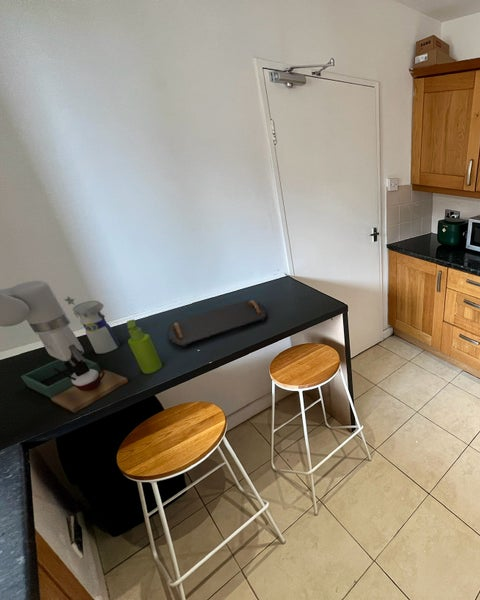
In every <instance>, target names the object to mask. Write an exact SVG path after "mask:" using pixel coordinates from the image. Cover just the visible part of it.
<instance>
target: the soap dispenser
mask: <svg viewBox="0 0 480 600" xmlns="http://www.w3.org/2000/svg"><path fill="white" fill-rule="evenodd" d="M126 325H127V329H128V334H129V337H130V338H129V339H128V340H127V343H128V345H129V347H130V349H131V351H132V353H133V355H134V358H135V360H136V362H137V364H138V365H139V366H138V367H139V368H140V370H141V372H142V373H143V374H145V375H147V374H152V373H156V372H157V371H159V370H160V369H161V368H163V363H162V361H161V359H160V357H159V354H158V352H157V350H156V348H155V346H154V343H153V341H152V339H151V336H150V334H148V333H144V332H143V330H142V328H141V327H140V326H137V325H136V321H135V319H130V320H127V321H126Z"/></svg>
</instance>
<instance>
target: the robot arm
mask: <svg viewBox="0 0 480 600" xmlns="http://www.w3.org/2000/svg"><path fill="white" fill-rule="evenodd" d="M25 321H27V323H28V324H29V326H30V328H31V329H32V332H34V334H36V335H38V338H39V339H40V341H41V343H42V345H43V346H44V349H45V351H46V352H47V353H48V355H50V357H53V358H55V359H56V360H58V359H60V360H62V361H63V362H64V365H65V366H66V368H67V369H66V370H67V371H68V374H73V373H75V374H76V376H78V377H79V376H81V375H83V374H85V373H87V372H89V371H90V370H89V368H88V366H87V364H86V363H85V361H84V358H85V357H84V356H83V354H84V352H85V350H84V348H83V345H82V344H81V343H80V341H79V339H78V337H77V336H76V334H75V333H74V331H73V330H72V329H71V327H70V326H69V325H70V324H71V320H70V319H69V316H68V315H67V314H66V312H65V310H64V308H63V306H62V305H61V303H60V301H59V300H58V298H57V296H56V293H54V290H53V289H52V287H51V286H50V284H49V283H48V282H46V281H43V280H32V281H26V282H22V283H19V284H17V285H14V286H12V287H8V288H2V289H0V327H14V326H17V325H19V324H20V325H21V324H22V323H23V322H25ZM74 358H75V359H74ZM65 362H66V363H65Z"/></svg>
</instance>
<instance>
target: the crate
mask: <svg viewBox="0 0 480 600" xmlns="http://www.w3.org/2000/svg"><path fill="white" fill-rule="evenodd" d="M74 359H75V358H74ZM84 361H85V363H86V364H87V366H88V368H89V369H93V370H96V371H98V373H99V372H100V371H102V369H101V368H100V366H99V364H98V363H97V362H94V361H92V360H90V359H87V358H85V357H84ZM65 363H66V362H65ZM53 367H54V368H56V369H58V370H60V371H62V372H64V371H66V370H68V369H67V368H66V366H65V365H64V362H63V361H62V360H60V359H56V360H54V361H51V362H50V363H47V364H45V365H43V366H41V367H38V368H36V369H33V370H32V371H29V372H27V373H25V374H22V375H21V376H20V378H21V379H22V380H23V382H24V384H25V385H26V387H28V388H30V389H32V390H33V391H35V392H38V393H39V394H41V395H44V396H46V397H48V398H50V399H51V398H53V397H54V396H56V395H58V394H60V393H62V392H64V391H66V390H68V389H70V388H72V387H73V386H74V384H73V383H72V380H71V378H69V377H67V376H65V377H64V378H63V379H62V378H61V379H60V380H58V381H56V382H54V383H52V384H50V385H46V384H44V383H41V382H43V381H45V380H47V379H49V378H51V377H54V376H56V375H59V374H60V373H59V372H57V371H55V370H54V369H52V368H53ZM69 375H70V376H72V375H73V373H71V374H69Z"/></svg>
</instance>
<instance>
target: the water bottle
mask: <svg viewBox="0 0 480 600" xmlns="http://www.w3.org/2000/svg"><path fill="white" fill-rule="evenodd" d="M64 301H65V302H67V303H68V305H69V306H70V305H74V306H73V307H72V311H73V314H74V316H75V318H78V319H79V318H80V321H79V322H80V323H79V324H81V325H83V328H84V329H85V335H86V336H87V339H88V340H89V342H90V344H91V347H92V349H93V350H94V353H95V354H107V353H109V352H113V351H114V350H116V349H118V348H119V347H120V345H121V343H120V342H119V339H118V338H117V336H116V334H115V333H114V331H113V329H112V327H111V326H110V324H109V323H107V321H106V319H105V318H106V317H105V314H103V313H101V311H102V309H103V308H104V306H105V305H104V304H103V303H102V302H100V301H99V300H88V301H83V302H81V303H78V304H75V302H74V301H75V298H71V297H70V296H67V298H65V299H64Z"/></svg>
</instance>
